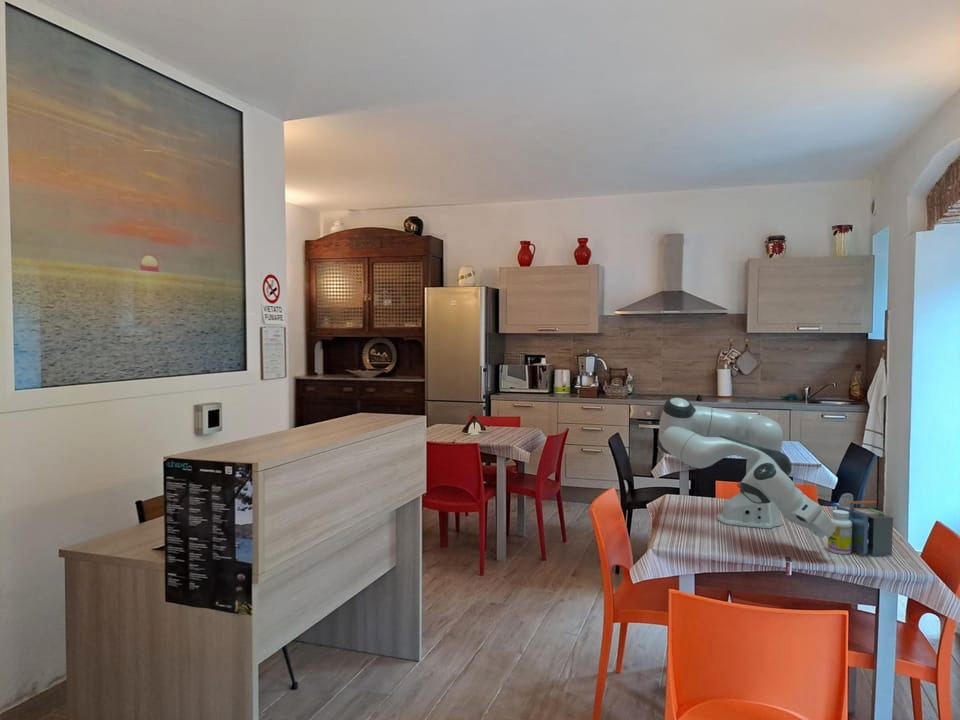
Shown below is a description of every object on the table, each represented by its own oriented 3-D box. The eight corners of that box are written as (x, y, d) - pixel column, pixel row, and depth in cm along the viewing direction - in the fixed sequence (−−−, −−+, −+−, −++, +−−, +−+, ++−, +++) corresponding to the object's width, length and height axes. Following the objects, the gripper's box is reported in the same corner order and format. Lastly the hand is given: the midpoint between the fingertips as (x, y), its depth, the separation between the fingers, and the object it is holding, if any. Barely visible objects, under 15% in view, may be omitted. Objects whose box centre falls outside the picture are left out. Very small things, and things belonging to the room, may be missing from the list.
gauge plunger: (863, 553, 210) (865, 506, 210) (835, 542, 222) (837, 497, 221) (891, 552, 212) (893, 505, 212) (862, 541, 224) (863, 496, 223)
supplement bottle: (824, 548, 219) (825, 508, 219) (845, 548, 218) (846, 509, 218) (833, 554, 212) (834, 513, 212) (855, 555, 212) (856, 514, 211)
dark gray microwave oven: (872, 556, 211) (873, 515, 210) (844, 545, 222) (845, 506, 222) (891, 555, 212) (893, 515, 212) (862, 544, 224) (863, 505, 223)
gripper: (767, 504, 221) (792, 533, 223) (809, 521, 201) (837, 552, 203) (779, 490, 222) (804, 519, 224) (823, 505, 202) (850, 536, 204)
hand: (820, 535), depth 213 cm, fingers closed
